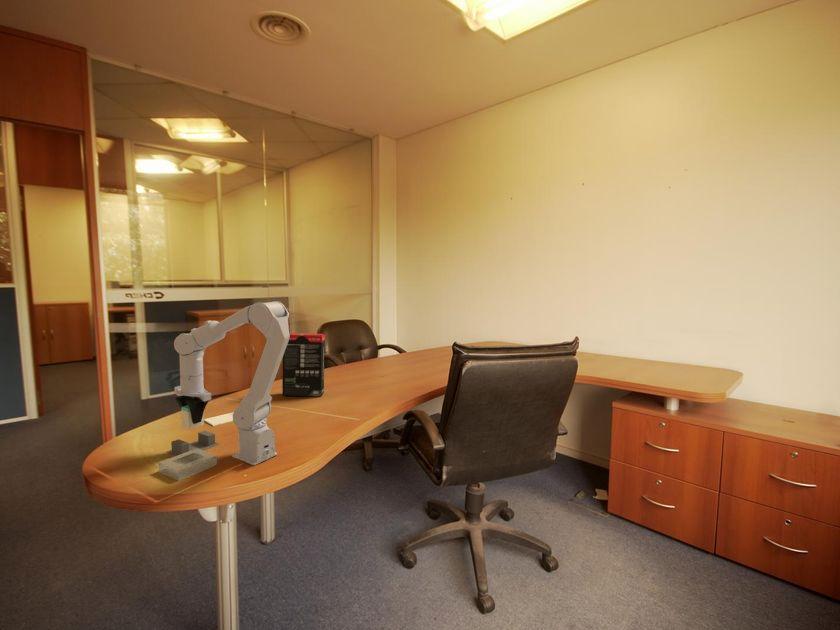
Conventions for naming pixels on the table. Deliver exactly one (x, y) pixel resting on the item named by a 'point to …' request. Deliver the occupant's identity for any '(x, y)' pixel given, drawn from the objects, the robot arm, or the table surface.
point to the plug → (189, 418)
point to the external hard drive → (219, 419)
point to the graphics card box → (304, 365)
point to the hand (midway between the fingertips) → (193, 421)
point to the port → (187, 464)
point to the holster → (194, 444)
